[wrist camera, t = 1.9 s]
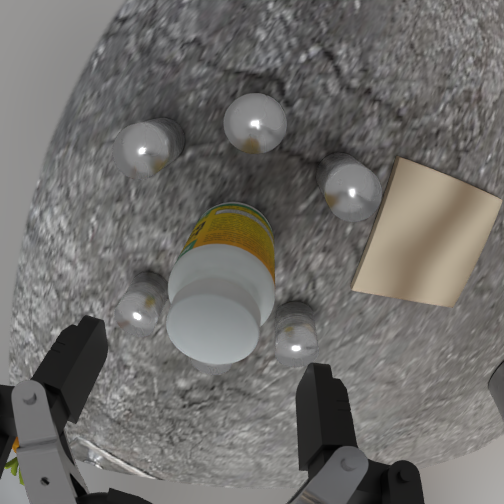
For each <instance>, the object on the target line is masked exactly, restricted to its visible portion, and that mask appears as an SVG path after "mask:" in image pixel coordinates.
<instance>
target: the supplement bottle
mask: <svg viewBox="0 0 504 504" xmlns="http://www.w3.org/2000/svg"><path fill="white" fill-rule="evenodd" d="M168 295H169V299H170V303H171V307H170V309H169V312H168V315H167V319H166V328H167V332H168V335H169V337H170V339H171V341H172V342H173V344H174V345H175V346H176V347H177V348H178V349H179V350H180V351H181V352H183V353H184V354H185V355H187V356H189V357H191V358H193V359H195V360H198V361H201V362H204V363H209V364H229V363H234V362H237V361H239V360H242V359H244V358H245V357H246V356H248V355H249V354H250V353H251V352H252V351H253V350H254V349H255V347H256V345H257V343H258V340H259V334H260V326H261V325H262V324H263V323H264V322H265V321H266V320H267V318H268V317H269V315H270V313H271V311H272V309H273V306H274V301H275V260H274V235H273V231H272V229H271V226H270V224H269V222H268V221H267V219H266V218H265V217H264V215H263V214H262V213H261V212H259V211H258V210H257V209H255V208H254V207H252V206H250V205H247V204H244V203H240V202H226V203H221V204H219V205H216V206H214V207H212V208H210V209H209V210H207V211H206V212H205V213H204V214H203V215H202V216H201V218H200V219H199V221H198V222H197V224H196V226H195V228H194V230H193V231H192V233H191V235H190V237H189V239H188V241H187V243H186V245H185V246H184V248H183V250H182V252H181V254H180V256H179V257H178V259H177V261H176V263H175V265H174V267H173V269H172V271H171V274H170V277H169V282H168Z"/></svg>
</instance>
